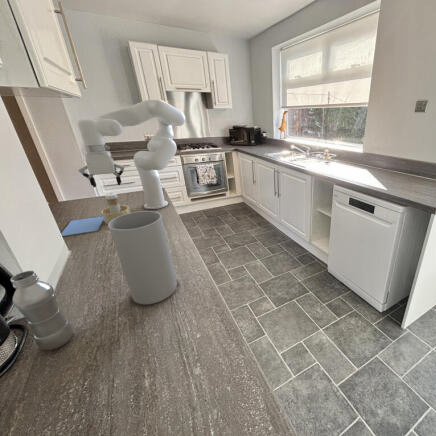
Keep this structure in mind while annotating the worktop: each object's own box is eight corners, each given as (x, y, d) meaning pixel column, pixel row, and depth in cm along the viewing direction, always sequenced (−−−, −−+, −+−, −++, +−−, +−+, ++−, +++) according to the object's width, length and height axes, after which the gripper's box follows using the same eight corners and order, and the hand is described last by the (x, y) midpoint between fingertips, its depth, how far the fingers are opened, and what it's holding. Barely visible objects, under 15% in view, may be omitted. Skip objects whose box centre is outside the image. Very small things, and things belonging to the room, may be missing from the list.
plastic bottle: (35, 358, 55) (-9, 289, 47) (48, 335, 60) (11, 270, 52) (70, 348, 57) (34, 281, 49) (80, 327, 63) (49, 263, 55)
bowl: (107, 218, 125) (103, 207, 123) (133, 214, 130) (130, 204, 127) (102, 226, 116) (98, 215, 113) (130, 222, 120) (127, 211, 118)
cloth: (71, 221, 121) (71, 220, 120) (105, 216, 126) (105, 216, 126) (59, 237, 106) (58, 236, 106) (97, 231, 112) (97, 230, 112)
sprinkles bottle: (115, 217, 124) (108, 193, 119) (125, 217, 125) (118, 192, 119) (111, 221, 120) (103, 196, 114) (121, 220, 121) (113, 195, 115)
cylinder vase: (149, 311, 68) (125, 234, 58) (123, 296, 73) (97, 223, 63) (185, 286, 78) (171, 216, 68) (161, 274, 83) (143, 208, 73)
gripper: (120, 147, 115) (129, 181, 121) (74, 148, 107) (86, 185, 114) (118, 149, 108) (127, 185, 115) (69, 150, 101) (82, 189, 108)
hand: (107, 185), depth 115 cm, fingers open, 9 cm apart
